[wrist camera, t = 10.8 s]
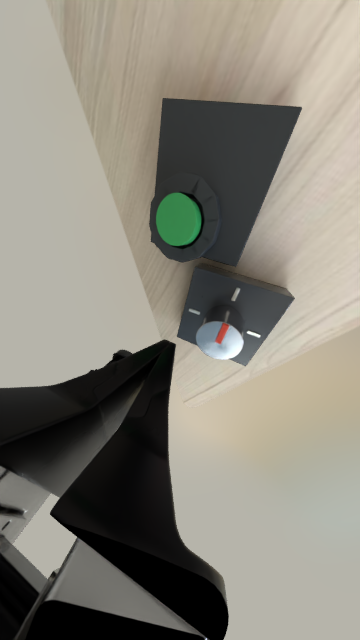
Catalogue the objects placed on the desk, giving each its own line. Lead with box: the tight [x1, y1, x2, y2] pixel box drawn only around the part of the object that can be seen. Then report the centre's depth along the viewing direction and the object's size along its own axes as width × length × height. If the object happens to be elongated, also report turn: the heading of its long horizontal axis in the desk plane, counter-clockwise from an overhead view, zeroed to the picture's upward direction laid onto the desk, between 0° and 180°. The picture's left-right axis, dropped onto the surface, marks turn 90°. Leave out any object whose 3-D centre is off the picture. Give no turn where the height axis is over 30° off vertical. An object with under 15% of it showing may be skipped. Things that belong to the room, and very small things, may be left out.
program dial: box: [196, 305, 243, 359], centre depth 15 cm, size 4×4×4 cm
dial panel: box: [177, 263, 295, 366], centre depth 18 cm, size 10×10×3 cm
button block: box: [149, 98, 302, 267], centre depth 13 cm, size 10×11×4 cm
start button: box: [156, 193, 202, 246], centre depth 12 cm, size 4×4×2 cm
